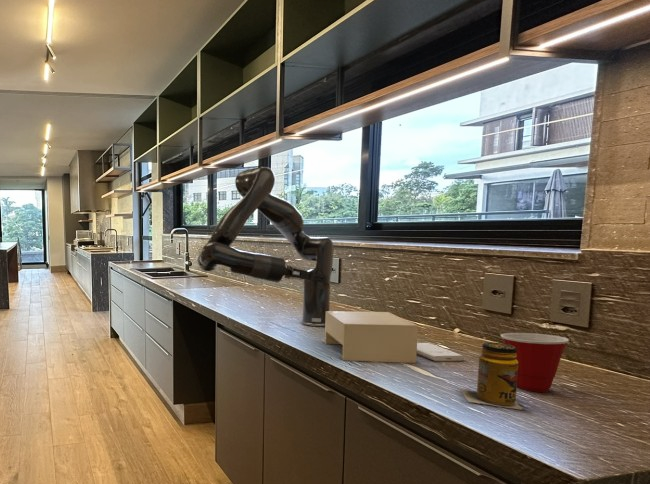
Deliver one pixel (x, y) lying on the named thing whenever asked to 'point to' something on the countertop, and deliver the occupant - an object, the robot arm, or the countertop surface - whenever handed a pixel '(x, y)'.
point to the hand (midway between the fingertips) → (319, 278)
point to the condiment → (496, 376)
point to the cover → (372, 336)
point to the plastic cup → (536, 358)
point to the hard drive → (437, 353)
